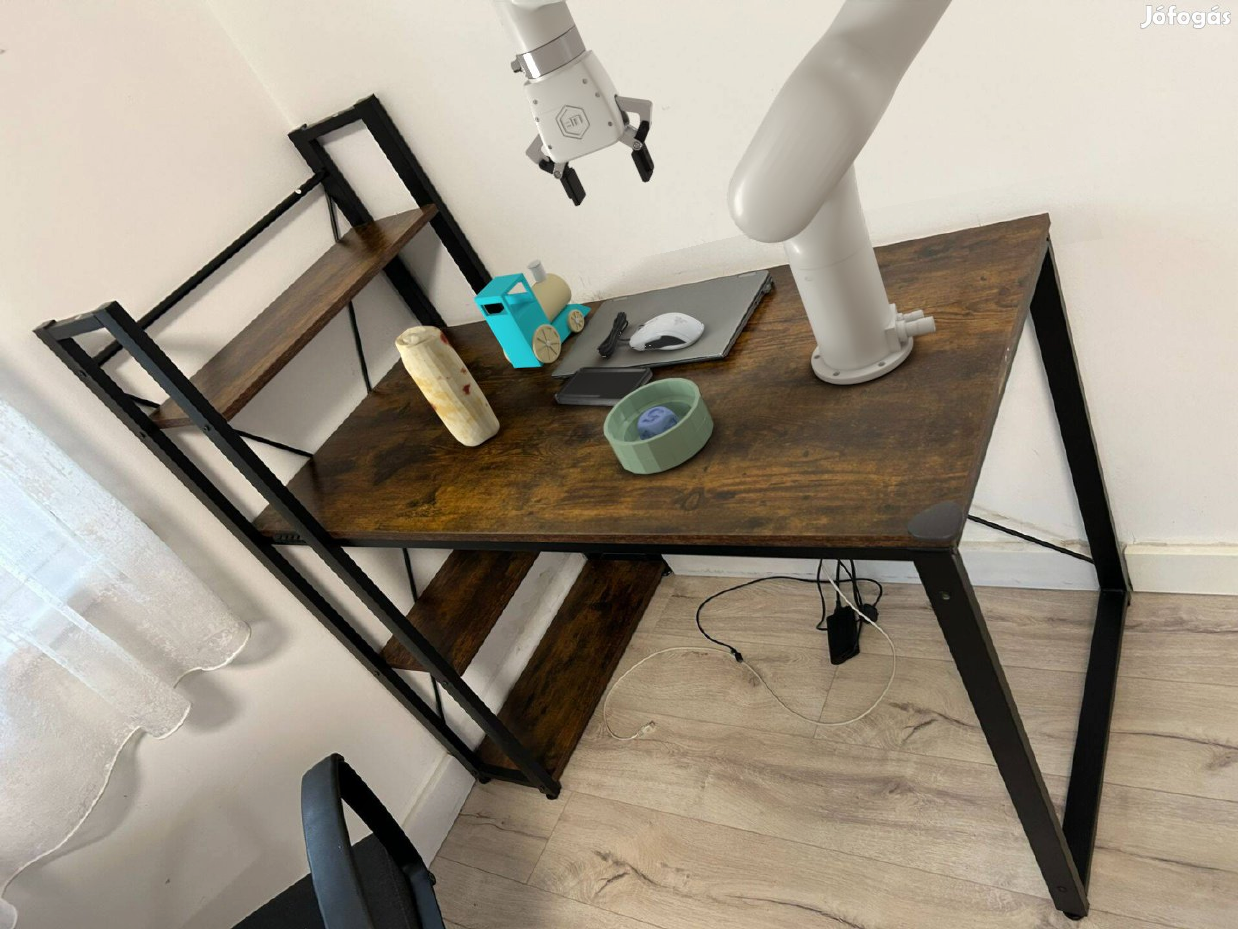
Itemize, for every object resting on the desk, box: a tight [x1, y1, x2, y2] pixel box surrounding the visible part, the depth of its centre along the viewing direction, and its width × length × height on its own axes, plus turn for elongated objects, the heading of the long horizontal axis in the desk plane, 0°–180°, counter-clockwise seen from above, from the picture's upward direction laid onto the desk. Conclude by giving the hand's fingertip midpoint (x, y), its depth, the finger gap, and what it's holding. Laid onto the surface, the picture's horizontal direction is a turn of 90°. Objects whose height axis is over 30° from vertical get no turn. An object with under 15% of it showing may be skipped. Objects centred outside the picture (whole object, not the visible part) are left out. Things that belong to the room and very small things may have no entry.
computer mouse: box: [596, 311, 705, 359], centre depth 136 cm, size 10×18×4 cm, turn 61°
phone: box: [554, 366, 654, 407], centre depth 131 cm, size 8×1×15 cm
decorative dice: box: [637, 407, 679, 440], centre depth 112 cm, size 4×4×4 cm
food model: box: [395, 325, 500, 447], centre depth 132 cm, size 10×7×20 cm
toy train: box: [473, 259, 592, 369], centre depth 148 cm, size 8×17×15 cm, turn 148°
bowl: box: [603, 377, 714, 475], centre depth 112 cm, size 13×13×6 cm
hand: (614, 189), depth 110 cm, fingers open, 9 cm apart
